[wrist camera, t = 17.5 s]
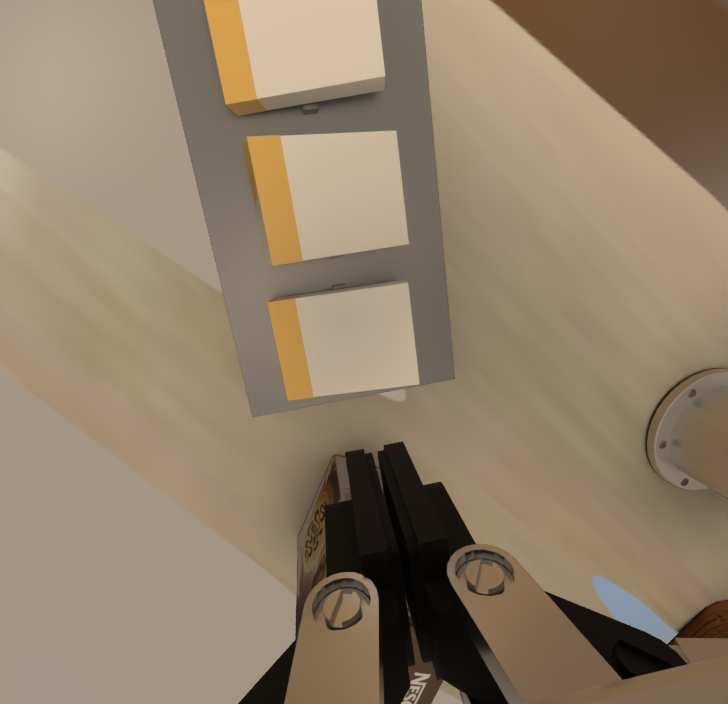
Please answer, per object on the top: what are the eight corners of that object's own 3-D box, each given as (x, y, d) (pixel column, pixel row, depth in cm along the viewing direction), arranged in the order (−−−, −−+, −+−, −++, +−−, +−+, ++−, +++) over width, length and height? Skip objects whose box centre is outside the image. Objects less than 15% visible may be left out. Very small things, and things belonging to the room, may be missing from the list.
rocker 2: (382, 140, 23) (396, 129, 21) (395, 246, 24) (409, 244, 23) (242, 147, 20) (246, 136, 18) (267, 266, 22) (272, 265, 20)
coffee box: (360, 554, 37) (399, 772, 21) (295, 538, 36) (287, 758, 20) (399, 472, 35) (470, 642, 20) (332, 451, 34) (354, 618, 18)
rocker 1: (368, -50, 19) (367, -79, 17) (384, 90, 21) (385, 76, 19) (210, -18, 20) (194, -44, 18) (238, 116, 21) (225, 104, 19)
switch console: (391, 6, 26) (419, -75, 20) (428, 356, 33) (459, 382, 27) (175, 25, 25) (129, -55, 19) (258, 388, 32) (246, 423, 25)
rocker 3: (406, 279, 23) (408, 282, 21) (417, 374, 25) (419, 385, 23) (275, 297, 24) (267, 302, 22) (294, 389, 25) (288, 400, 24)
